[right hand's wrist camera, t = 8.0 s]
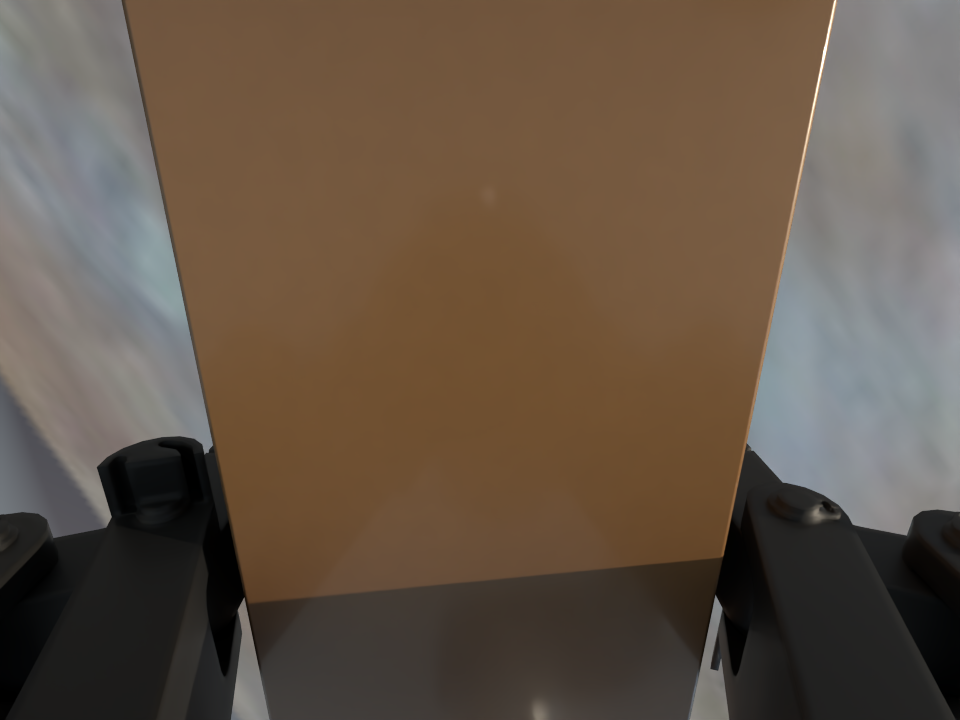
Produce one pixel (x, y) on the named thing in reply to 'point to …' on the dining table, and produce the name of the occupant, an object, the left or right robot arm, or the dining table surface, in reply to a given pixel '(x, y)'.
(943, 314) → the dining table surface
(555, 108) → the bar
